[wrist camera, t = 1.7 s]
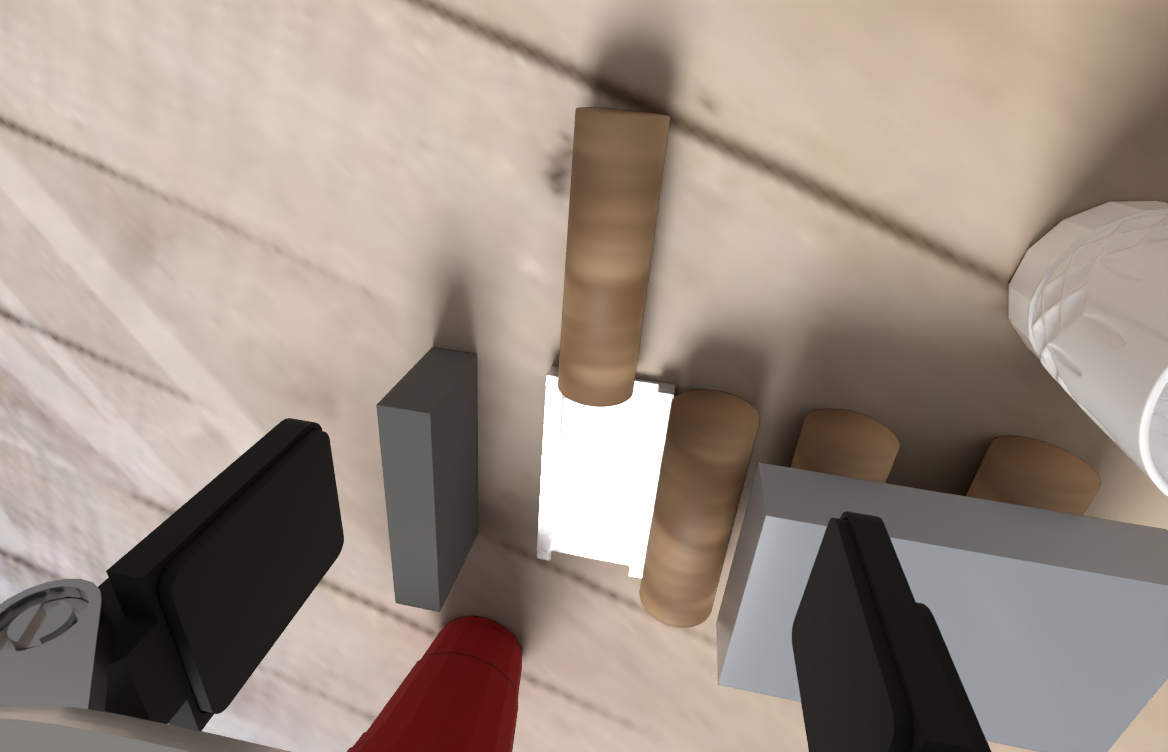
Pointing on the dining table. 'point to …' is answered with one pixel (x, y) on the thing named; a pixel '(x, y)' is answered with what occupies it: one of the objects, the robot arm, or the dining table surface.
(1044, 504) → the roller bed
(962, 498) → the slab
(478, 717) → the plastic cup
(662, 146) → the roller
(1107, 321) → the white cup
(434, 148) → the dining table surface
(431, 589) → the block
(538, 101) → the dining table surface
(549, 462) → the grey flat plate
